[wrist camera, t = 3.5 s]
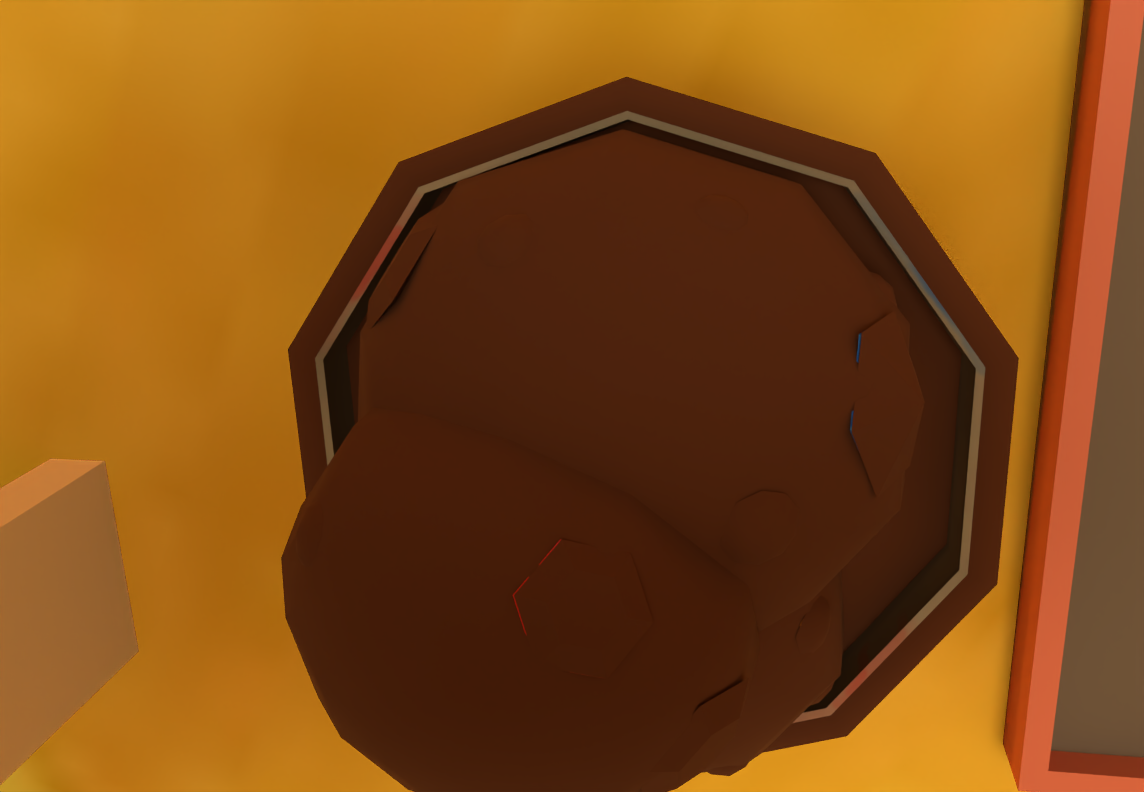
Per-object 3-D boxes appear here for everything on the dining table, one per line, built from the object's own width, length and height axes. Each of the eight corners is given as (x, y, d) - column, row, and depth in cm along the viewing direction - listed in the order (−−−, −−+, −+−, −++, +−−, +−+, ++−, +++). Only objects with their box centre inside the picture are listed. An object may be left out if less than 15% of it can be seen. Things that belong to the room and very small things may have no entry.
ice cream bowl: (834, 581, 27) (904, 1195, 13) (405, 438, 27) (23, 869, 13) (1012, 158, 23) (1393, 366, 9) (510, 5, 24) (134, -23, 10)
